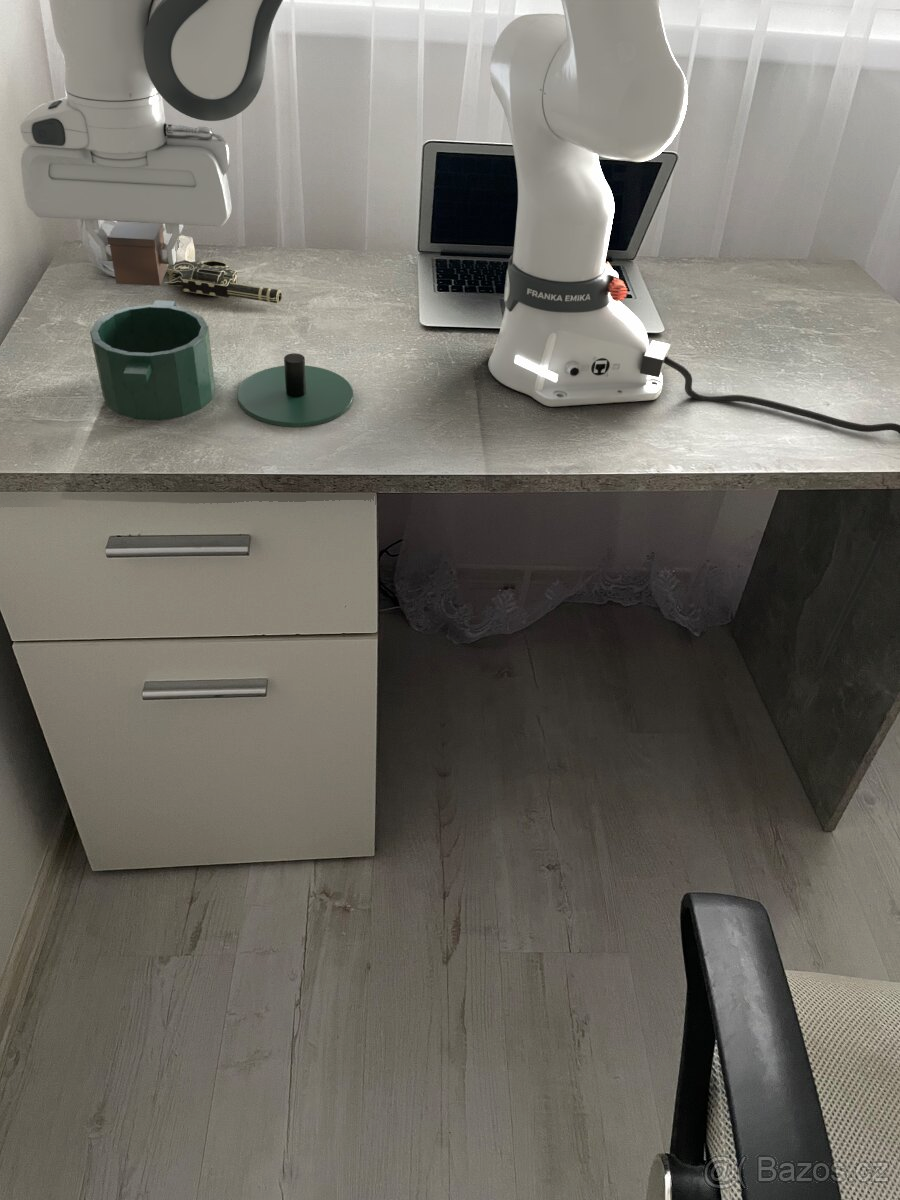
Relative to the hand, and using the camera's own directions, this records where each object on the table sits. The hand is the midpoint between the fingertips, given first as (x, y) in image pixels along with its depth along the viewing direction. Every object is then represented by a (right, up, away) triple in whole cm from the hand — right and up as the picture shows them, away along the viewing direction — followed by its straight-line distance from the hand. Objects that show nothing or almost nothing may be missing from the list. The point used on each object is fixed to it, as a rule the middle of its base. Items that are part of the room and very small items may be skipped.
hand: (139, 260), depth 101 cm
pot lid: (+15, -12, +12) cm, 22 cm away
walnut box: (0, -1, +1) cm, 2 cm away
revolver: (+1, +9, +35) cm, 36 cm away
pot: (-1, -12, +11) cm, 16 cm away
